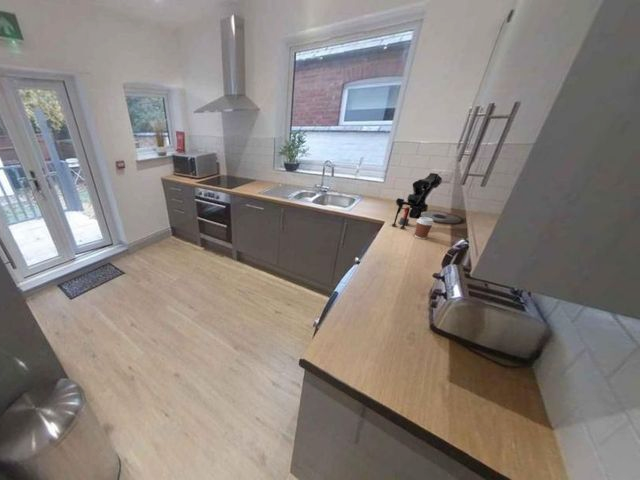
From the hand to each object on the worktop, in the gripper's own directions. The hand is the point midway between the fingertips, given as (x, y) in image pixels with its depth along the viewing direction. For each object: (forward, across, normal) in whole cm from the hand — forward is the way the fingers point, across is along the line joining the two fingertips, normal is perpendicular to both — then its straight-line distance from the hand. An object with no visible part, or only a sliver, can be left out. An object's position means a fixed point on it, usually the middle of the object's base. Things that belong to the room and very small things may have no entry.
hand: (405, 214), depth 174 cm
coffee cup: (+14, +15, -4) cm, 21 cm away
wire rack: (+10, 0, 0) cm, 10 cm away
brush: (+4, 0, +6) cm, 7 cm away
